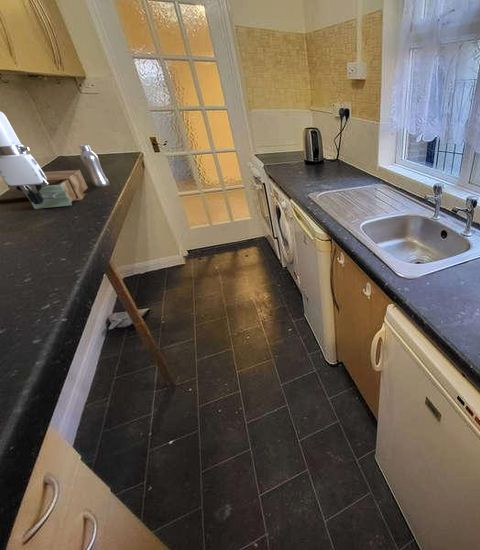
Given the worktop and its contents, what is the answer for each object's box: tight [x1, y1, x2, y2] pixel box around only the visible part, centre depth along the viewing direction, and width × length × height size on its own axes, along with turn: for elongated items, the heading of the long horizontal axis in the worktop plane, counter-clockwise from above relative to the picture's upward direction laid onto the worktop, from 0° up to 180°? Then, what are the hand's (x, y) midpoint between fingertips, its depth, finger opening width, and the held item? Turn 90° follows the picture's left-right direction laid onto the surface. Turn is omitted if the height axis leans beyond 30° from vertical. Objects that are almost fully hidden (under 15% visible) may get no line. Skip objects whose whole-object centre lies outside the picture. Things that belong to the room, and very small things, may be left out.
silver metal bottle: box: [78, 144, 110, 188], centre depth 142 cm, size 6×7×20 cm
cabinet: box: [43, 169, 89, 201], centre depth 132 cm, size 15×13×10 cm
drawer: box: [25, 179, 77, 210], centre depth 121 cm, size 18×11×8 cm, turn 27°
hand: (39, 203), depth 111 cm, fingers closed
